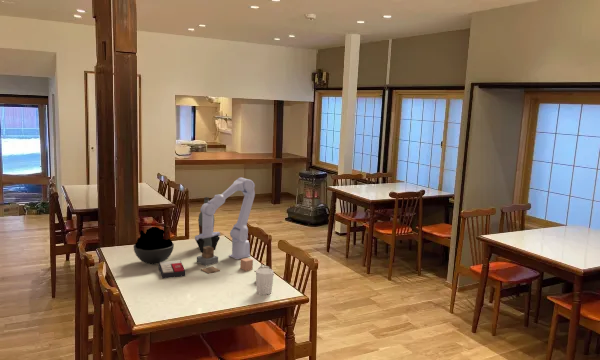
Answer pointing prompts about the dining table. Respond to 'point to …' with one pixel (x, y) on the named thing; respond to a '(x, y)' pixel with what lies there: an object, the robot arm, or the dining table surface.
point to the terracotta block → (246, 264)
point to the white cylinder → (264, 280)
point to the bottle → (206, 240)
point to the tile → (210, 270)
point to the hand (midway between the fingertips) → (207, 250)
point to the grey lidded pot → (264, 267)
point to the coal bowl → (153, 246)
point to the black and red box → (171, 269)
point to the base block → (207, 260)
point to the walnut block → (208, 252)
